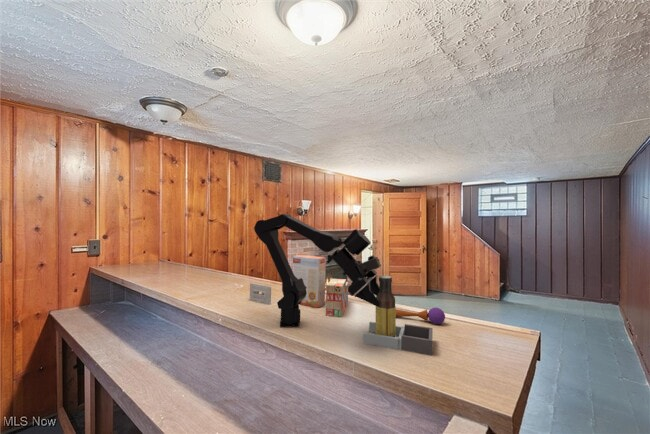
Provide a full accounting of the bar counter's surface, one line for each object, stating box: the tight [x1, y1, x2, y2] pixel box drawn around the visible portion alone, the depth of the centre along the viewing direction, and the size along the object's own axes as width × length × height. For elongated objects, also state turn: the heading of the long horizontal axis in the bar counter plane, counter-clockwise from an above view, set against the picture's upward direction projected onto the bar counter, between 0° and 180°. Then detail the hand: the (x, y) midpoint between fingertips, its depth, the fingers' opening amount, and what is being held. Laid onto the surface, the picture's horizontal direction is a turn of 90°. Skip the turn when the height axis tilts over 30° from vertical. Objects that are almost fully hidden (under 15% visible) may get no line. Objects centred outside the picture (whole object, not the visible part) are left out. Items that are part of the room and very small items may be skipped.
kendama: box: [396, 307, 446, 325], centre depth 113 cm, size 6×6×20 cm
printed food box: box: [325, 278, 349, 318], centre depth 125 cm, size 21×6×12 cm, turn 169°
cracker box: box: [292, 254, 327, 309], centre depth 130 cm, size 14×6×21 cm, turn 58°
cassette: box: [249, 282, 272, 306], centre depth 130 cm, size 12×2×8 cm, turn 58°
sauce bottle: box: [375, 275, 397, 337], centre depth 94 cm, size 6×6×20 cm
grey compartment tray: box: [362, 321, 434, 356], centre depth 92 cm, size 20×11×4 cm, turn 70°
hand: (381, 301), depth 94 cm, fingers open, 9 cm apart
